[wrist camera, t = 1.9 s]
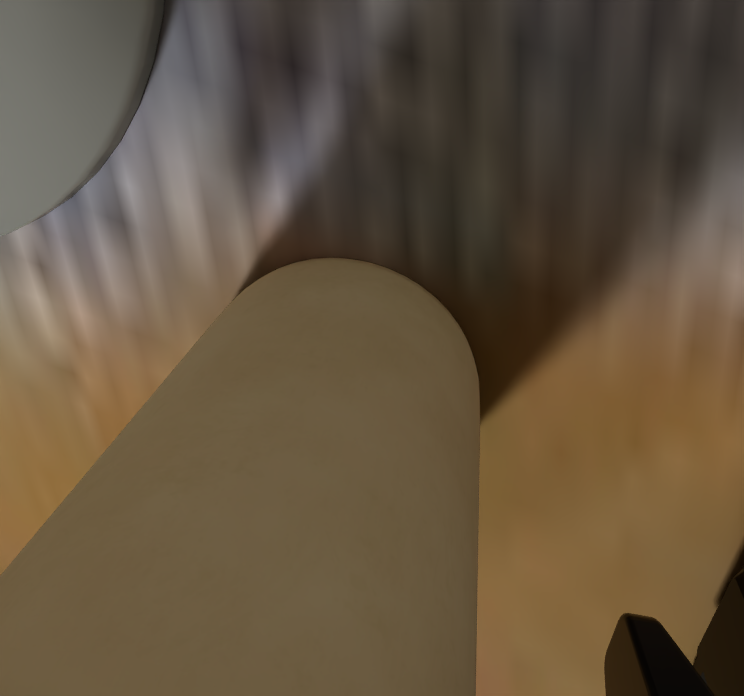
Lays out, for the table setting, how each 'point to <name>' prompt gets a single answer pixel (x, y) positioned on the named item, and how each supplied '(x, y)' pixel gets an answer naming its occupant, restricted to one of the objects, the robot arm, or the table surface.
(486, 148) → the table surface
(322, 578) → the candle
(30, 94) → the slate plate
